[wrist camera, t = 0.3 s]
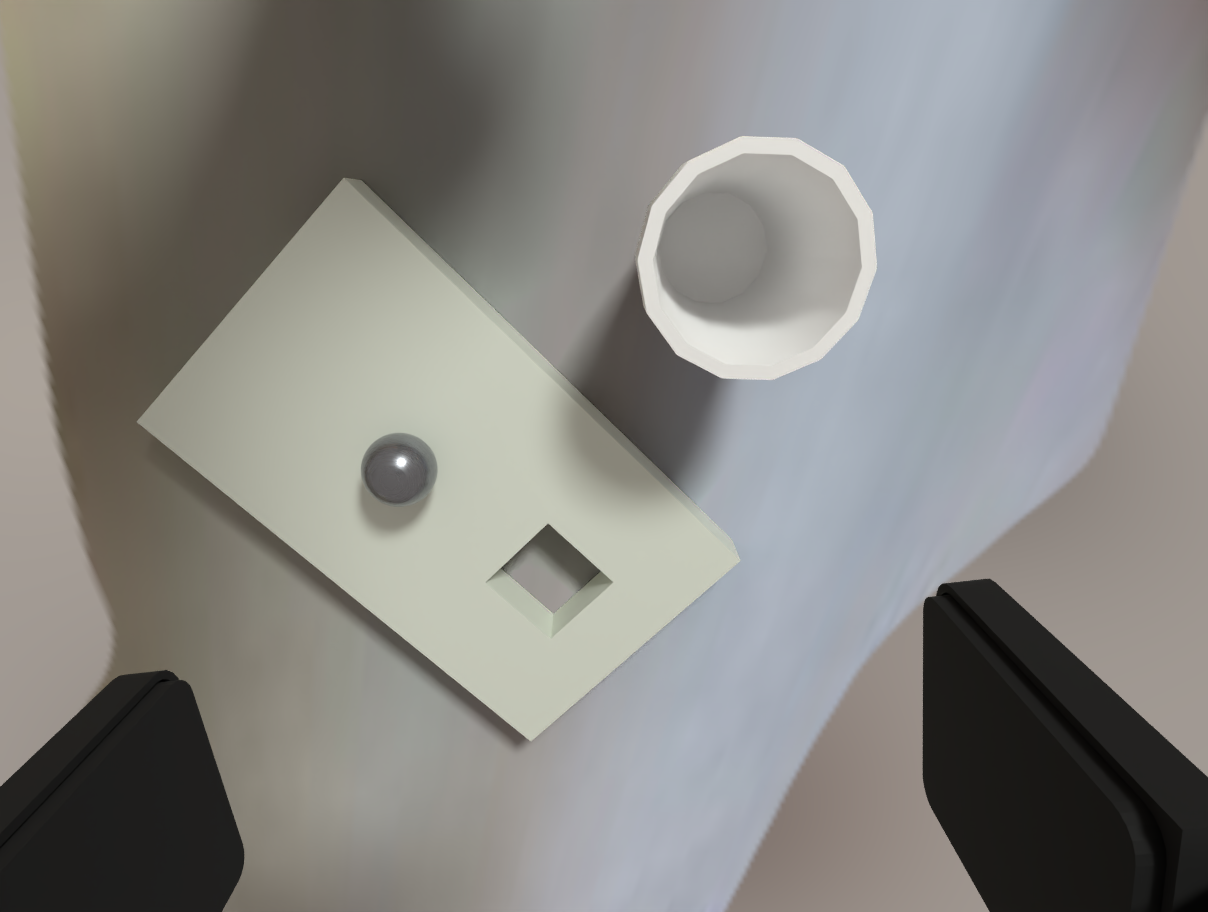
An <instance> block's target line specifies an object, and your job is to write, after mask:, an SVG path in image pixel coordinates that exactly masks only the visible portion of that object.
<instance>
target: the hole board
mask: <svg viewBox="0 0 1208 912" xmlns="http://www.w3.org/2000/svg"><path fill="white" fill-rule="evenodd" d="M137 423H138V424H140V425H141V426H142V427H143V428H145V429H146V430H147V431H148V432H150V433H151V434H152V435H153V436H155V437H156V438H157V439H158V440H159V441H161V442H162V443H163V444H164V445H166V446H167V447H168V448H169V449H171V450H172V451H173V452H174V453H175V454H177V455H178V456H179V457H180V458H182V459H183V460H184V461H185V462H187V463H188V464H189V465H190V466H192V467H193V468H194V469H195V470H196V471H198V472H199V473H200V474H201V475H203V476H204V477H205V478H206V479H208V480H209V481H210V482H211V483H212V484H214V485H215V486H216V487H217V488H219V489H220V490H221V491H222V492H224V493H225V494H226V495H227V496H229V497H230V498H231V499H232V500H233V501H235V502H236V503H237V504H238V505H240V506H241V507H242V508H243V509H245V510H246V511H247V512H248V513H250V514H251V515H252V516H253V517H254V518H256V519H257V520H258V521H259V522H261V523H262V524H263V525H264V526H266V527H267V528H268V529H269V530H270V531H272V532H273V533H274V534H275V535H277V536H278V537H279V538H280V539H282V540H283V541H284V542H285V543H287V544H288V545H289V546H290V547H291V548H293V549H294V550H295V551H296V552H298V553H299V554H300V555H301V556H303V557H304V558H305V559H306V560H307V561H309V562H310V563H311V564H312V565H314V566H315V567H316V568H317V569H319V570H320V571H321V572H322V573H324V574H325V575H326V576H327V577H328V578H330V579H331V580H332V581H333V582H335V583H336V584H337V585H338V586H340V587H341V588H342V589H343V590H344V591H346V592H347V593H348V594H349V595H351V596H352V597H353V598H354V599H356V600H357V601H358V602H359V603H361V604H362V605H363V606H364V607H365V608H367V609H368V610H369V611H370V612H372V613H373V614H374V615H375V616H377V617H378V618H379V619H380V620H381V621H383V622H384V623H385V624H386V625H388V626H389V627H390V628H391V629H393V630H394V631H395V632H396V633H398V634H399V635H400V636H401V637H402V638H404V639H405V640H406V641H407V642H409V643H410V644H411V645H412V646H414V647H415V648H416V649H417V650H419V651H420V652H421V653H422V654H423V655H425V656H426V657H427V658H428V659H430V660H431V661H432V662H433V663H435V664H436V665H437V666H438V667H439V668H441V669H442V670H443V671H444V672H446V673H447V674H448V675H449V676H451V677H452V678H453V679H454V680H456V681H457V682H458V683H459V684H460V685H462V686H463V687H464V688H465V689H467V690H468V691H469V692H470V693H472V694H473V695H474V696H475V697H476V698H478V699H479V700H480V701H481V702H483V703H484V704H485V705H486V706H488V707H489V708H490V709H491V710H493V711H494V712H495V713H496V714H497V715H499V716H500V717H501V718H502V719H504V720H505V721H506V722H507V723H509V724H510V725H511V726H512V727H513V728H515V729H516V730H517V731H518V732H520V733H521V734H522V735H523V736H525V737H526V738H527V739H528V740H530V741H532V740H533V739H534V738H536V737H537V736H538V735H539V734H540V733H541V732H542V731H544V730H545V729H546V728H547V727H548V726H549V725H551V724H552V723H553V722H554V721H555V720H556V719H558V718H559V717H560V716H561V715H562V714H563V713H565V712H566V711H567V710H568V709H569V708H570V707H571V706H573V705H574V704H575V703H576V702H577V701H578V700H580V699H581V698H582V697H583V696H584V695H585V694H587V693H588V692H589V691H590V690H591V689H592V688H594V687H595V686H596V685H597V684H598V683H599V682H600V681H602V680H603V679H604V678H605V677H606V676H607V675H609V674H610V673H611V672H612V671H613V670H614V669H616V668H617V667H618V666H619V665H620V664H621V663H622V662H624V661H625V660H626V659H627V658H628V657H629V656H631V655H632V654H633V653H634V652H635V651H636V650H638V649H639V648H640V647H641V646H642V645H643V644H645V643H646V642H647V641H648V640H649V639H650V638H651V637H653V636H654V635H655V634H656V633H657V632H658V631H660V630H661V629H662V628H663V627H664V626H665V625H667V624H668V623H669V622H670V621H671V620H672V619H674V618H675V617H676V616H677V615H678V614H679V613H680V612H682V611H683V610H684V609H685V608H686V607H687V606H689V605H690V604H691V603H692V602H693V601H694V600H696V599H697V598H698V597H699V596H700V595H701V594H702V593H704V592H705V591H706V590H707V589H708V588H709V587H711V586H712V585H713V584H714V583H715V582H716V581H718V580H719V579H720V578H721V577H722V576H723V575H725V574H726V573H727V572H728V571H729V570H730V569H731V568H733V567H734V566H735V565H736V564H737V563H738V562H740V558H739V556H738V553H737V551H736V548H735V546H734V543H733V541H732V539H731V538H730V537H729V536H728V535H727V534H726V533H725V532H724V531H723V530H722V529H720V528H719V527H718V526H717V525H716V524H715V523H714V522H713V521H712V520H711V519H710V518H709V517H708V516H707V515H706V514H705V513H704V512H703V511H702V510H701V509H700V508H699V507H698V506H697V505H696V504H695V503H694V502H693V501H692V500H691V499H690V498H689V497H687V496H686V495H685V494H684V493H683V492H682V491H681V490H680V489H679V488H678V487H677V486H676V485H675V484H674V483H673V482H672V481H671V480H670V479H669V478H668V477H667V476H666V475H665V474H664V473H663V472H662V471H661V470H660V469H659V468H658V467H657V466H656V465H655V464H653V463H652V462H651V461H650V460H649V459H648V458H647V457H646V456H645V455H644V454H643V453H642V452H641V451H640V450H639V449H638V448H637V447H636V446H635V445H634V444H633V443H632V442H631V441H630V440H629V439H628V438H627V437H626V436H625V435H624V434H623V433H622V432H621V431H619V430H618V429H617V428H616V427H615V426H614V425H613V424H612V423H611V422H610V421H609V420H608V419H607V418H606V417H605V416H604V415H603V414H602V413H601V412H600V411H599V410H598V409H597V408H596V407H595V406H594V405H593V404H592V403H591V402H590V401H589V400H588V399H586V398H585V397H584V396H583V395H582V394H581V393H580V392H579V391H578V390H577V389H576V388H575V387H574V386H573V385H572V384H571V383H570V382H569V381H568V380H567V379H566V378H565V377H564V376H563V375H562V374H561V373H560V372H559V371H558V370H557V369H556V368H555V367H554V366H552V365H551V364H550V363H549V362H548V361H547V360H546V359H545V358H544V357H543V356H542V355H541V354H540V353H539V352H538V351H537V350H536V349H535V348H534V347H533V346H532V345H531V344H530V343H529V342H528V341H527V340H526V339H525V338H524V337H523V336H522V335H521V334H520V333H518V332H517V331H516V330H515V329H514V328H513V327H512V326H511V325H510V324H509V323H508V322H507V321H506V320H505V319H504V318H503V317H502V316H501V315H500V314H499V313H498V312H497V311H496V310H495V309H494V308H493V307H492V306H491V305H490V304H489V303H488V302H487V301H485V300H484V299H483V298H482V297H481V296H480V295H479V294H478V293H477V292H476V291H475V290H474V289H473V288H472V287H471V286H470V285H469V284H468V283H467V282H466V281H465V280H464V279H463V278H462V277H461V276H460V275H459V274H458V273H457V272H456V271H455V270H454V269H453V268H451V267H450V266H449V265H448V264H447V263H446V262H445V261H444V260H443V259H442V258H441V257H440V256H439V255H438V254H437V253H436V252H435V251H434V250H433V249H432V248H431V247H430V246H429V245H428V244H427V243H426V242H425V241H424V240H423V239H422V238H421V237H420V236H419V235H417V234H416V233H415V232H414V231H413V230H412V229H411V228H410V227H409V226H408V225H407V224H406V223H405V222H404V221H403V220H402V219H401V218H400V217H399V216H398V215H397V214H396V213H395V212H394V211H393V210H392V209H391V208H390V207H389V206H388V205H387V204H386V203H385V202H383V201H382V200H381V199H380V198H379V197H378V196H377V195H376V194H375V193H374V192H373V191H372V190H371V189H370V188H369V187H368V186H367V185H366V184H365V183H364V182H363V181H362V180H358V179H350V178H343V179H342V180H341V181H340V182H339V184H338V185H337V186H336V187H335V188H334V190H333V191H332V192H331V193H330V194H329V195H328V197H327V198H326V199H325V200H324V201H323V203H322V204H321V205H320V206H319V207H318V208H317V210H316V211H315V212H314V213H313V214H312V215H311V217H310V218H309V219H308V220H307V221H306V223H305V224H304V225H303V226H302V227H301V228H300V230H299V231H298V232H297V233H296V234H295V236H294V237H293V238H292V239H291V240H290V241H289V243H288V244H287V245H286V246H285V247H284V249H283V250H282V251H281V252H280V253H279V254H278V256H277V257H276V258H275V259H274V260H273V261H272V263H271V264H270V265H269V266H268V267H267V269H266V270H265V271H264V272H263V273H262V274H261V276H260V277H259V278H258V279H257V280H256V282H255V283H254V284H253V285H252V286H251V287H250V289H249V290H248V291H247V292H246V293H245V295H244V296H243V297H242V298H241V299H240V300H239V302H238V303H237V304H236V305H235V306H234V307H233V309H232V310H231V311H230V312H229V313H228V315H227V316H226V317H225V318H224V319H223V320H222V322H221V323H220V324H219V325H218V326H217V328H216V329H215V330H214V331H213V332H212V333H211V335H210V336H209V337H208V338H207V339H206V341H205V342H204V343H203V344H202V345H201V346H200V348H199V349H198V350H197V351H196V352H195V353H194V355H193V356H192V357H191V358H190V359H189V361H188V362H187V363H186V364H185V365H184V366H183V368H182V369H181V370H180V371H179V372H178V374H177V375H176V376H175V377H174V378H173V379H172V381H171V382H170V383H169V384H168V385H167V387H166V388H165V389H164V390H163V391H162V392H161V394H160V395H159V396H158V397H157V398H156V400H155V401H154V402H153V403H152V404H151V405H150V407H149V408H148V409H147V410H146V411H145V412H144V414H143V415H142V416H141V417H140V418H139V420H138V421H137ZM392 433H407V434H411V435H414V436H416V437H418V438H420V439H422V440H423V441H424V442H425V443H426V444H427V445H428V446H429V447H430V448H431V450H432V451H433V453H434V455H435V457H436V461H437V466H438V473H437V479H436V482H435V484H434V486H433V488H432V490H431V491H430V492H429V494H428V495H427V496H426V497H425V498H424V499H422V500H421V501H419V502H417V503H415V504H413V505H410V506H405V507H393V506H388V505H385V504H383V503H381V502H379V501H377V500H376V499H375V498H373V497H372V496H371V495H370V494H369V492H368V491H367V490H366V488H365V486H364V484H363V481H362V477H361V463H362V459H363V456H364V454H365V452H366V450H367V449H368V448H369V446H370V445H371V444H372V443H373V442H374V441H376V440H377V439H379V438H380V437H382V436H385V435H388V434H392ZM547 524H550V525H551V526H552V527H553V528H554V529H555V530H556V531H557V532H558V533H559V534H561V535H562V536H563V537H564V538H565V539H566V540H567V541H568V542H569V543H571V544H572V545H573V546H574V547H575V548H576V549H577V550H578V551H579V552H580V553H582V554H583V555H584V556H585V557H586V558H587V559H588V560H589V561H590V562H592V563H593V564H594V565H595V566H596V567H597V568H598V569H599V570H600V572H599V573H598V574H597V575H596V576H595V577H594V578H593V579H592V580H590V581H589V582H588V583H587V584H586V585H585V586H584V587H583V588H582V589H580V590H579V591H578V592H577V593H576V594H575V595H574V596H573V597H572V598H571V599H569V600H568V601H567V602H566V603H565V604H564V605H563V606H562V607H561V608H559V609H558V610H557V611H556V612H555V613H554V614H553V613H552V612H550V611H549V610H548V609H547V608H546V607H545V606H544V605H542V604H541V603H540V602H539V601H538V600H537V599H536V598H534V597H533V596H532V595H531V594H530V593H529V592H527V591H526V590H525V589H524V588H523V587H522V586H521V585H519V584H518V583H517V582H516V581H515V580H514V579H513V578H511V577H510V576H509V575H508V574H507V573H506V572H505V571H503V570H502V569H501V567H502V566H503V565H504V564H505V563H506V562H508V561H509V560H510V559H511V558H512V557H513V556H514V555H515V554H516V553H517V552H518V551H519V550H520V549H521V548H522V547H523V546H524V545H526V544H527V543H528V542H529V541H530V540H531V539H532V538H533V537H534V536H535V535H536V534H537V533H538V532H539V531H540V530H541V529H542V528H544V527H545V526H546V525H547Z"/></svg>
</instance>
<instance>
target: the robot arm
mask: <svg viewBox="0 0 1208 912" xmlns="http://www.w3.org/2000/svg"><path fill="white" fill-rule="evenodd" d="M923 782H924V788H925V792H926V795H927V798H928V801H929V804H930V806H931V808H932V810H933V812H934V814H935V815H936V817H937V819H938V821H939V822H940V824H941V826H942V828H943V830H944V831H945V833H946V835H947V837H948V838H949V840H950V842H951V844H952V846H953V847H954V849H955V851H956V853H957V854H958V856H959V858H960V860H961V862H962V863H963V865H964V867H965V869H966V871H967V872H968V874H969V876H970V877H971V879H972V881H973V883H974V885H975V886H976V888H977V890H978V892H979V894H980V895H981V897H982V899H983V900H984V902H985V904H986V906H987V908H988V910H989V911H990V912H1208V777H1207V776H1206V775H1205V774H1204V773H1203V772H1201V771H1200V770H1199V769H1198V768H1197V767H1196V766H1195V765H1194V764H1193V763H1192V762H1191V761H1189V760H1188V759H1187V758H1186V757H1185V756H1184V755H1183V754H1182V753H1181V752H1180V751H1179V750H1177V749H1176V748H1175V747H1174V746H1173V745H1172V744H1171V743H1170V742H1169V741H1167V739H1165V738H1164V737H1163V736H1162V735H1161V734H1160V733H1159V732H1158V731H1157V730H1156V729H1155V728H1154V727H1152V726H1151V725H1150V724H1149V723H1148V722H1147V721H1146V720H1145V719H1144V718H1143V717H1141V716H1140V715H1139V714H1138V713H1137V712H1136V711H1135V710H1134V709H1133V708H1132V707H1131V706H1129V705H1128V704H1127V703H1126V702H1125V701H1124V700H1123V699H1122V698H1121V697H1120V696H1119V695H1118V694H1116V693H1115V692H1114V691H1113V690H1112V689H1111V688H1110V687H1109V686H1108V685H1107V684H1106V683H1104V682H1103V681H1102V680H1101V679H1100V678H1099V677H1098V676H1097V675H1096V674H1094V672H1092V671H1091V670H1090V669H1089V668H1088V667H1087V666H1086V665H1085V664H1084V663H1083V662H1082V661H1080V660H1079V659H1078V658H1077V657H1076V656H1075V655H1074V654H1073V653H1072V652H1071V651H1070V650H1068V649H1067V648H1066V647H1065V646H1064V645H1063V644H1062V643H1061V642H1060V641H1059V640H1058V639H1056V638H1055V637H1054V636H1053V635H1052V634H1051V633H1050V632H1049V631H1048V630H1047V629H1046V628H1045V627H1043V626H1042V625H1041V624H1040V623H1039V622H1038V621H1037V620H1036V619H1035V618H1034V617H1032V616H1031V615H1030V614H1029V613H1028V612H1027V611H1026V610H1025V609H1024V608H1023V607H1022V606H1021V605H1019V604H1018V603H1017V602H1016V601H1015V600H1014V599H1013V598H1012V597H1011V596H1009V594H1007V593H1006V592H1005V591H1004V590H1003V589H1002V588H1001V587H1000V586H999V585H998V584H997V583H996V582H994V581H992V580H991V579H981V580H972V581H963V582H954V583H945V584H941V585H940V586H939V588H938V591H937V594H936V596H934V597H927V598H926V599H925V602H924V608H923ZM243 865H244V848H243V843H242V840H241V837H240V834H239V831H238V828H237V825H236V822H235V819H234V816H233V813H232V810H231V807H230V804H229V801H228V798H227V795H226V792H225V789H224V786H223V782H222V779H221V776H220V773H219V770H218V767H217V764H216V761H215V758H214V755H213V752H212V749H211V746H210V743H209V740H208V737H207V734H206V731H205V728H204V725H203V721H202V718H201V715H200V712H199V709H198V706H197V703H196V700H195V697H194V694H193V691H192V689H191V687H190V685H189V684H188V683H187V682H186V681H183V680H179V679H178V677H177V676H176V675H175V674H174V673H173V672H170V671H167V670H164V671H155V672H146V673H137V674H128V675H122V676H118V677H117V678H115V679H114V680H112V681H111V682H110V683H109V684H108V685H107V686H106V687H105V688H104V689H103V690H102V691H101V692H100V693H99V694H98V695H97V696H95V697H94V698H93V699H92V700H91V701H90V702H89V703H88V704H87V705H86V706H85V707H84V708H83V709H82V710H81V711H80V712H79V713H78V714H77V715H76V716H74V717H73V718H72V719H71V720H70V721H69V722H68V723H67V724H66V725H65V726H64V727H63V728H62V729H61V730H60V731H59V732H58V733H56V734H55V736H53V737H52V738H51V739H50V740H49V741H48V742H47V743H46V744H45V745H44V746H43V747H42V748H41V749H40V750H39V751H37V752H36V753H35V755H33V756H32V757H31V758H30V759H29V760H28V761H27V762H26V763H25V764H24V765H23V766H22V767H21V768H20V769H19V770H17V772H15V773H14V774H13V775H12V776H11V777H10V778H9V779H8V780H7V781H6V782H5V783H4V784H3V785H2V786H1V787H0V912H222V910H223V908H224V907H225V905H226V903H227V901H228V899H229V897H230V896H231V894H232V892H233V890H234V888H235V886H236V885H237V883H238V881H239V879H240V876H241V874H242V870H243Z"/></svg>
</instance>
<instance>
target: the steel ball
mask: <svg viewBox="0 0 1208 912" xmlns="http://www.w3.org/2000/svg"><path fill="white" fill-rule="evenodd" d="M437 473H438V466H437V461H436V457H435V455H434V453H433V451H432V450H431V448H430V447H429V446H428V445H427V444H426V443H425V442H424V441H423V440H422V439H420V438H418V437H416V436H414V435H411V434H407V433H392V434H388V435H385V436H382V437H380V438H379V439H377V440H376V441H374V442H373V443H372V444H371V445H370V446H369V448H368V449H367V450H366V452H365V454H364V456H363V459H362V463H361V477H362V481H363V484H364V486H365V488H366V490H367V491H368V492H369V494H370V495H371V496H372V497H373V498H375V499H376V500H377V501H379V502H381V503H383V504H385V505H388V506H393V507H405V506H410V505H413V504H415V503H417V502H419V501H421V500H422V499H424V498H425V497H426V496H427V495H428V494H429V492H430V491H431V490H432V488H433V486H434V484H435V482H436V479H437Z"/></svg>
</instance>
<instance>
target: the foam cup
mask: <svg viewBox="0 0 1208 912" xmlns="http://www.w3.org/2000/svg"><path fill="white" fill-rule="evenodd" d="M635 261H636V267H637V273H638V278H639V284H640V290H641V295H642V301H643V306H644V308H645V311H646V313H647V314H648V316H649V317H650V318H651V320H652V321H653V323H654V324H655V325H656V327H657V328H658V329H659V331H660V332H661V334H662V335H663V336H664V338H665V339H666V341H667V342H668V343H669V345H670V346H671V347H672V349H673V350H674V352H675V353H676V354H677V355H678V356H680V357H682V358H684V359H686V360H687V361H689V362H691V363H693V364H695V365H697V366H699V367H701V368H703V369H705V370H707V371H708V372H710V373H712V374H714V375H716V376H718V377H720V378H725V379H759V380H774V379H776V378H778V377H781V376H783V375H785V374H788V373H790V372H792V371H795V370H797V369H799V368H802V367H804V366H806V365H809V364H811V363H814V362H816V361H818V360H821V359H822V358H823V357H824V356H825V355H826V354H827V352H828V351H829V350H830V349H831V348H832V347H833V346H834V345H835V344H836V343H837V342H838V341H839V340H840V339H841V338H842V337H843V336H844V334H845V333H846V332H847V331H848V330H849V329H850V328H851V327H852V326H853V325H854V324H855V323H856V322H857V321H858V319H859V317H860V314H861V311H862V308H863V305H864V303H865V300H866V297H867V294H868V292H869V289H870V286H871V283H872V281H873V278H874V275H875V272H876V270H877V260H876V248H875V236H874V224H873V213H872V211H871V209H870V208H869V206H868V204H867V203H866V201H865V199H864V198H863V196H862V194H861V193H860V191H859V189H858V188H857V186H856V185H855V183H854V181H853V180H852V178H851V176H850V175H849V173H848V171H847V170H846V168H845V166H843V165H842V164H840V163H838V162H837V161H835V160H833V159H832V158H830V157H828V156H826V155H825V154H823V153H821V152H820V151H818V150H816V149H815V148H813V147H811V146H809V145H808V144H806V143H804V142H803V141H801V140H799V139H798V138H776V137H748V136H741V137H738V138H736V139H734V140H732V141H730V142H728V143H726V144H723V145H721V146H719V147H717V148H715V149H713V150H711V151H708V152H706V153H704V154H702V155H700V156H698V157H696V158H693V159H691V160H689V161H687V162H686V163H684V164H682V165H681V167H680V168H679V169H678V170H677V171H676V173H675V174H674V175H673V176H672V177H671V179H670V180H669V181H668V182H667V183H666V185H665V186H664V187H663V188H662V190H661V191H660V192H659V193H658V194H657V196H656V197H655V198H654V199H653V200H652V202H651V203H650V204H649V205H648V208H647V212H646V216H645V220H644V223H643V227H642V231H641V235H640V238H639V242H638V246H637V250H636V253H635Z"/></svg>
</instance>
